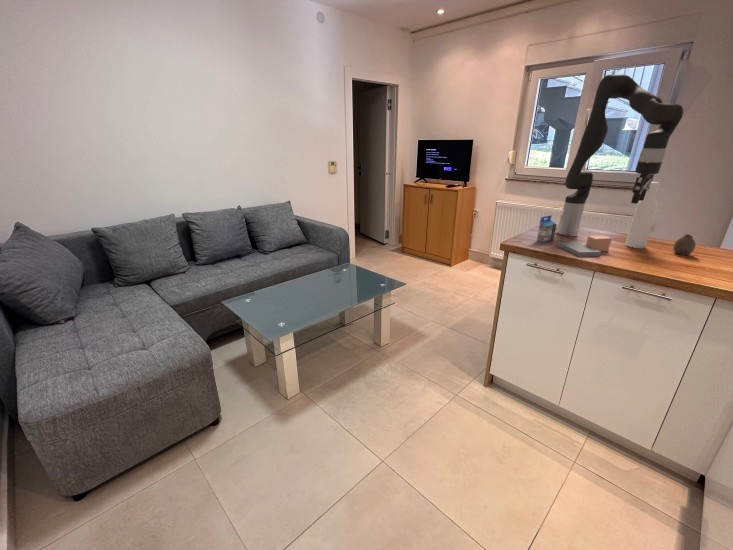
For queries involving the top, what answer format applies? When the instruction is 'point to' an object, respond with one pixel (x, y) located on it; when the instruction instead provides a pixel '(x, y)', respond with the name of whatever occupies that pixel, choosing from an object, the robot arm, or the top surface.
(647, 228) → the bottle
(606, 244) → the tan rectangular block
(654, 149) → the robot arm
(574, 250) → the board
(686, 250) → the grey pear shaped lump
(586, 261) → the top surface
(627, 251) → the top surface
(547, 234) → the label tape box
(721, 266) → the top surface
